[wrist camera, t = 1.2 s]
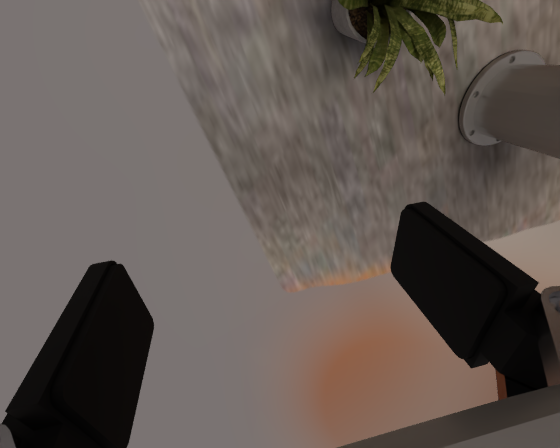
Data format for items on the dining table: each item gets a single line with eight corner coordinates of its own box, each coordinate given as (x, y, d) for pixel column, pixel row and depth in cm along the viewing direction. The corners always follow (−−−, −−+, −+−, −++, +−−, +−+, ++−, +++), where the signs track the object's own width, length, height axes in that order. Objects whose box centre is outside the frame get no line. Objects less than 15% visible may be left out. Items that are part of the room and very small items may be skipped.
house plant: (284, 91, 33) (332, 118, 20) (273, -70, 25) (340, -206, 12) (392, 77, 35) (503, 95, 21) (412, -77, 27) (606, -202, 14)
